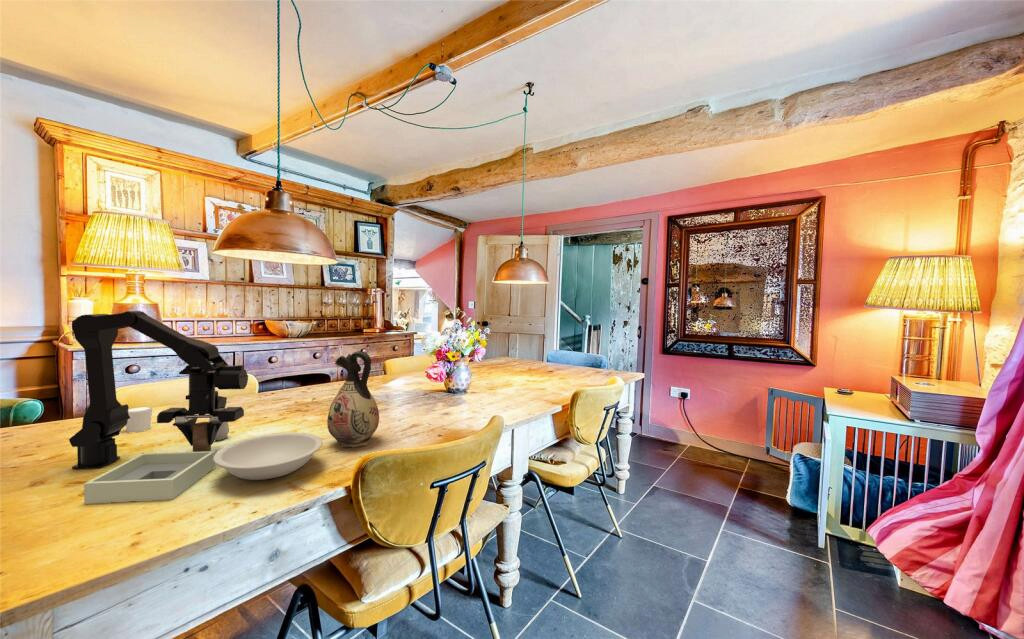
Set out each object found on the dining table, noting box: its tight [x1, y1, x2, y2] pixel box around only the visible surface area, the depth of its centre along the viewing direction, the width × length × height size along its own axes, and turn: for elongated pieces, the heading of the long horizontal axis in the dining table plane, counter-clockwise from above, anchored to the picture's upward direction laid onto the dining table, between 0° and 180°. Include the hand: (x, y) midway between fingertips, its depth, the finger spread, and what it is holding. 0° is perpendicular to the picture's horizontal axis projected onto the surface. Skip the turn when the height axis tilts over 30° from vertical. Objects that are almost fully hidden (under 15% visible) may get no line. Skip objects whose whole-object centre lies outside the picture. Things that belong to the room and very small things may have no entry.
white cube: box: [125, 406, 153, 433], centre depth 128 cm, size 7×7×7 cm
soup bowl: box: [213, 432, 323, 481], centre depth 101 cm, size 24×24×7 cm
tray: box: [83, 450, 216, 505], centre depth 92 cm, size 17×17×4 cm
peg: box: [192, 421, 212, 452], centre depth 107 cm, size 4×4×8 cm
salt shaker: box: [208, 400, 230, 442], centre depth 122 cm, size 6×6×13 cm
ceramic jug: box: [326, 350, 380, 448], centre depth 122 cm, size 17×15×30 cm
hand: (202, 445), depth 107 cm, fingers closed on peg, 4 cm apart
